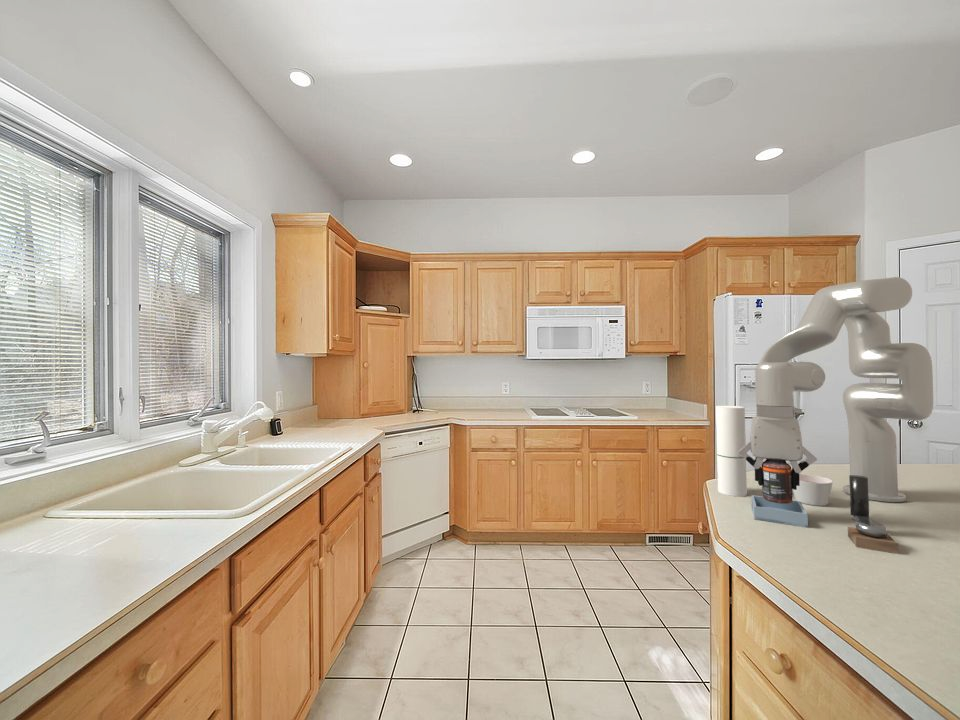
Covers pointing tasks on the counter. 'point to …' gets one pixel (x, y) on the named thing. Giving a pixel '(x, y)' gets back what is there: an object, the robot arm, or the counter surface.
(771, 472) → the supplement bottle
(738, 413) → the cylindrical container
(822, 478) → the white bowl
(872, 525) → the crank
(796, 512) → the tray
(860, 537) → the crank base
